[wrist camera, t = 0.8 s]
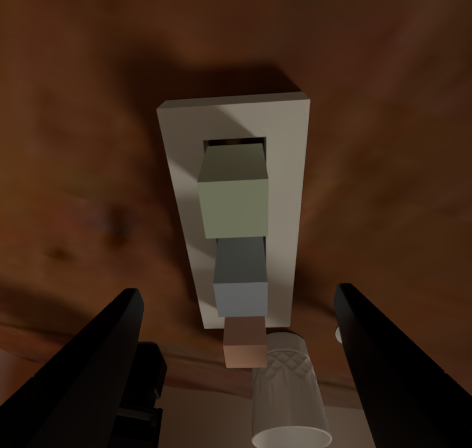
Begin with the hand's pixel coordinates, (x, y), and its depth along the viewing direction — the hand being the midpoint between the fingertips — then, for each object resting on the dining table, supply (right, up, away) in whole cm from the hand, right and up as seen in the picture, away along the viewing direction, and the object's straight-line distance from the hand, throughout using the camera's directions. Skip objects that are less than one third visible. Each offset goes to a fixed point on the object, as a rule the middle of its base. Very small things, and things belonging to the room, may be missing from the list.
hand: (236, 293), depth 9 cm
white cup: (+6, -13, +26) cm, 29 cm away
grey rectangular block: (0, 0, +12) cm, 12 cm away
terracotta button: (+1, -5, +16) cm, 17 cm away
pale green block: (0, +6, +8) cm, 10 cm away
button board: (0, +2, +15) cm, 15 cm away
